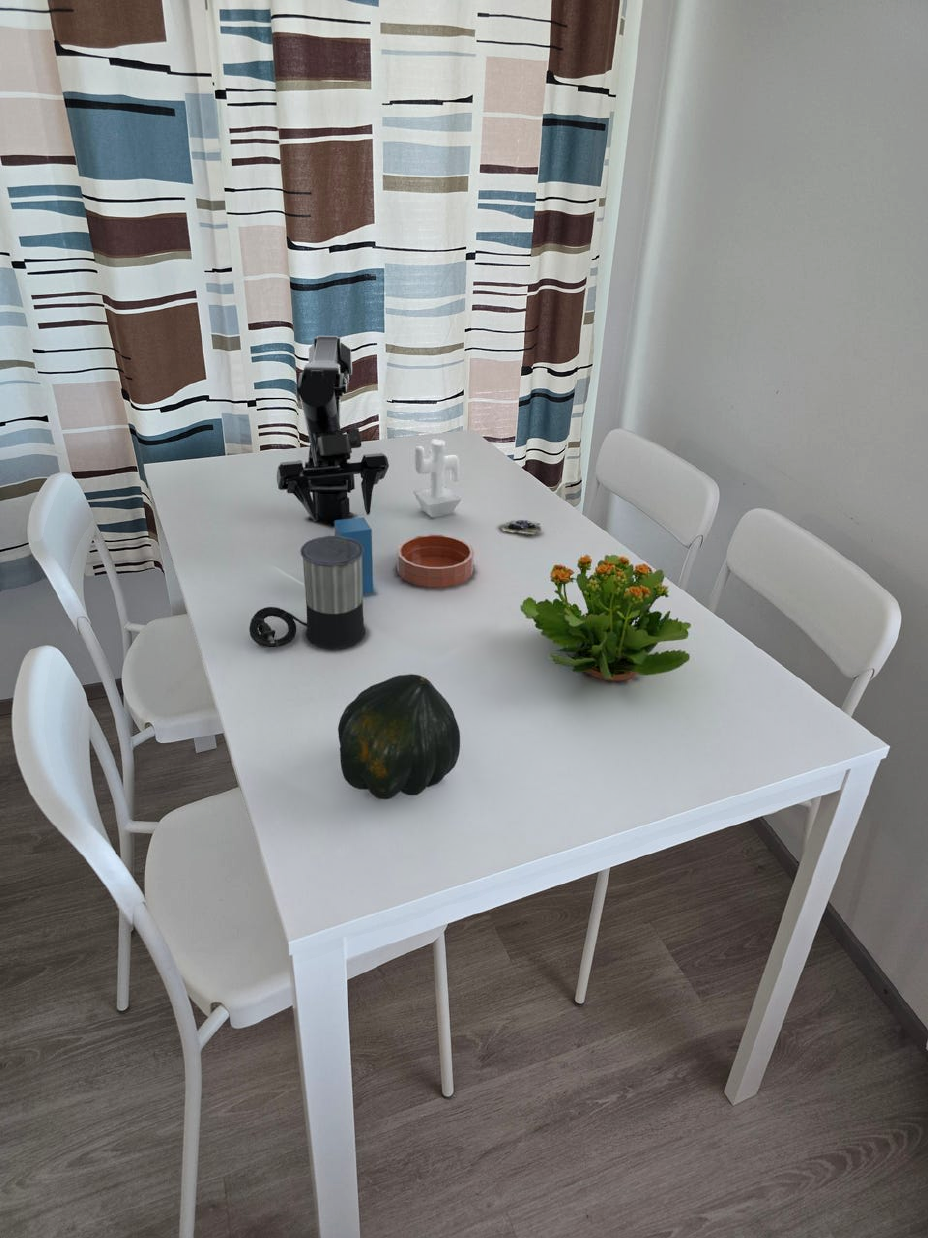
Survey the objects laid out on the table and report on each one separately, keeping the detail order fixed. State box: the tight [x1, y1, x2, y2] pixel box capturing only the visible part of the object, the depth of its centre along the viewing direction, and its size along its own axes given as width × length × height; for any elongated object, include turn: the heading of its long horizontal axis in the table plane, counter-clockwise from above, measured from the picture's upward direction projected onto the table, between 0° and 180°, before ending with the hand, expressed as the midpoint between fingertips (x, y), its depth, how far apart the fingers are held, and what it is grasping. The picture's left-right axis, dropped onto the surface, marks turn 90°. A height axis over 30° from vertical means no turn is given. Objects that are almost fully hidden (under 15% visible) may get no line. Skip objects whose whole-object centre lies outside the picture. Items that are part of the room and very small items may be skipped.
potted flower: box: [520, 554, 692, 682], centre depth 123 cm, size 25×24×18 cm
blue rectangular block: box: [334, 516, 374, 595], centre depth 142 cm, size 5×5×12 cm
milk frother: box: [248, 535, 367, 650], centre depth 128 cm, size 14×16×15 cm
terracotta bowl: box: [396, 534, 475, 589], centre depth 151 cm, size 13×13×4 cm
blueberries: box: [500, 519, 542, 536], centre depth 167 cm, size 7×8×2 cm
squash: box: [337, 674, 461, 800], centre depth 102 cm, size 14×15×15 cm
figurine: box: [412, 438, 462, 518], centre depth 170 cm, size 7×9×15 cm
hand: (342, 517), depth 146 cm, fingers open, 9 cm apart
